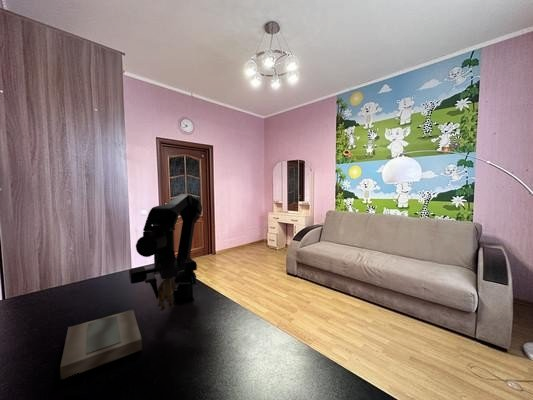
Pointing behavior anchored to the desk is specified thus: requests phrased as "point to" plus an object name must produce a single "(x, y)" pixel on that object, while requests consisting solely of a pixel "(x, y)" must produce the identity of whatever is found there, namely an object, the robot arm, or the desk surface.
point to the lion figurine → (166, 292)
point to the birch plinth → (100, 342)
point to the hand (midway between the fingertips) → (165, 296)
